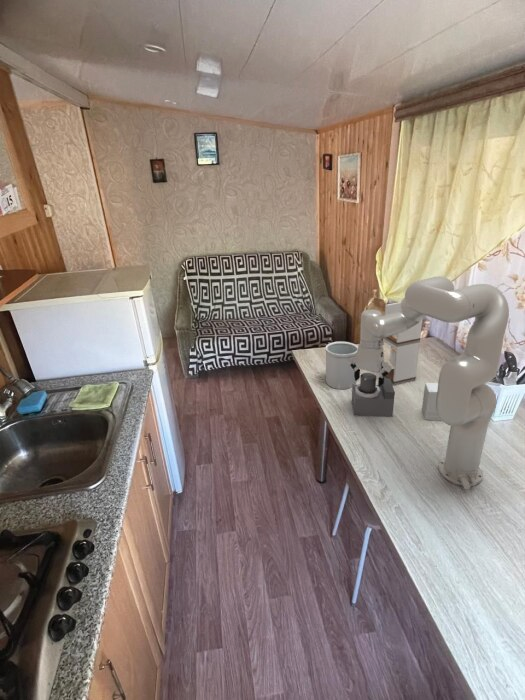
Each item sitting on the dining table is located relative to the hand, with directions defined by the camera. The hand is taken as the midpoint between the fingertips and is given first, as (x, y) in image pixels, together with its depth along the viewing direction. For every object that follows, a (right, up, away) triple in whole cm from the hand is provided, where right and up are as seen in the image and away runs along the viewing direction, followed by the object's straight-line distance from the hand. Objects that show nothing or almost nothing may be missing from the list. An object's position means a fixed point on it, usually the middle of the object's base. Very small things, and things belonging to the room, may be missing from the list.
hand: (368, 382), depth 154 cm
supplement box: (+25, -13, -1) cm, 28 cm away
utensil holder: (-6, -2, +27) cm, 27 cm away
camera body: (+3, -11, +5) cm, 13 cm away
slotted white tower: (+21, 0, +27) cm, 34 cm away
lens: (0, -4, +2) cm, 4 cm away
